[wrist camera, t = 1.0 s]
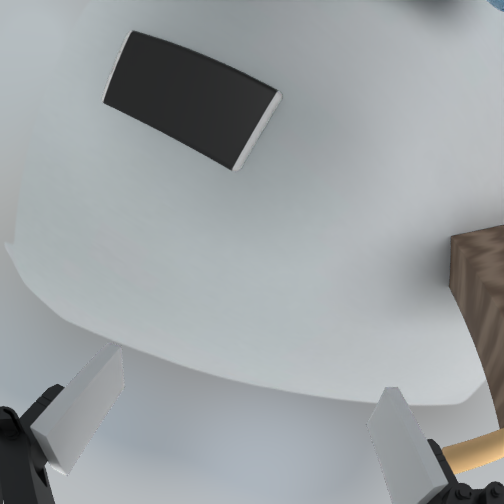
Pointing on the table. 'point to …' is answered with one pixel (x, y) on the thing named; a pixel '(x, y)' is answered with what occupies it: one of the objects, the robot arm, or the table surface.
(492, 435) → the pin
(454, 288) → the stand
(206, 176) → the table surface
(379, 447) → the robot arm
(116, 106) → the smartphone
